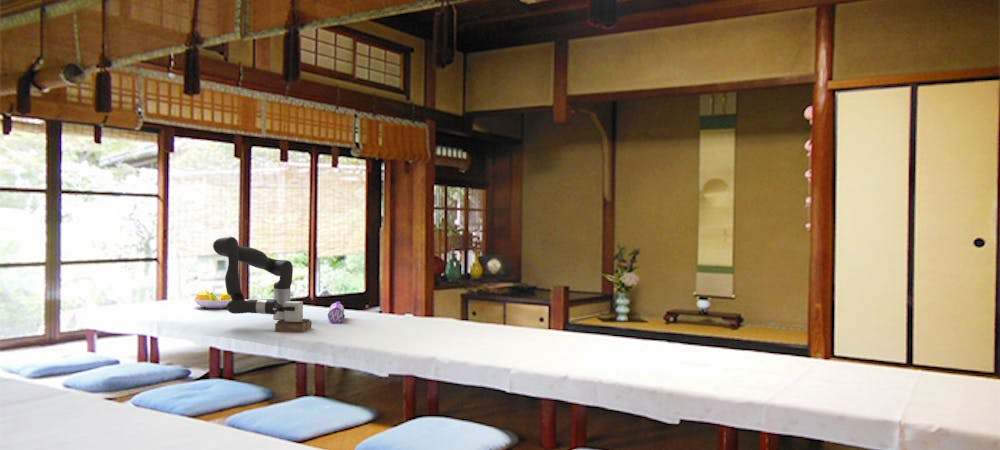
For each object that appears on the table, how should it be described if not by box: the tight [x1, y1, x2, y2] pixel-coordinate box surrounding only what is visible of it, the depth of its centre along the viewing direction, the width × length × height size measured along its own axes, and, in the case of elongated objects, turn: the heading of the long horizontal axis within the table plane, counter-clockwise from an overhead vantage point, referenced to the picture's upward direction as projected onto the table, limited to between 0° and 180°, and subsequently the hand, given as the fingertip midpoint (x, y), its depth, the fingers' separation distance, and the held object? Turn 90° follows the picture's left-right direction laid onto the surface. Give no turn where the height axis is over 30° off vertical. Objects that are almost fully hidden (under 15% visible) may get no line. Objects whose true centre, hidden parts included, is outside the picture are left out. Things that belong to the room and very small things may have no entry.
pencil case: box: [327, 301, 346, 324], centre depth 400 cm, size 22×9×10 cm, turn 14°
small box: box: [284, 300, 304, 322], centre depth 366 cm, size 8×6×10 cm
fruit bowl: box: [193, 290, 232, 309], centre depth 440 cm, size 28×27×11 cm
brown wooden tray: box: [274, 318, 312, 333], centre depth 366 cm, size 14×14×5 cm
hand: (297, 307), depth 365 cm, fingers open, 8 cm apart
